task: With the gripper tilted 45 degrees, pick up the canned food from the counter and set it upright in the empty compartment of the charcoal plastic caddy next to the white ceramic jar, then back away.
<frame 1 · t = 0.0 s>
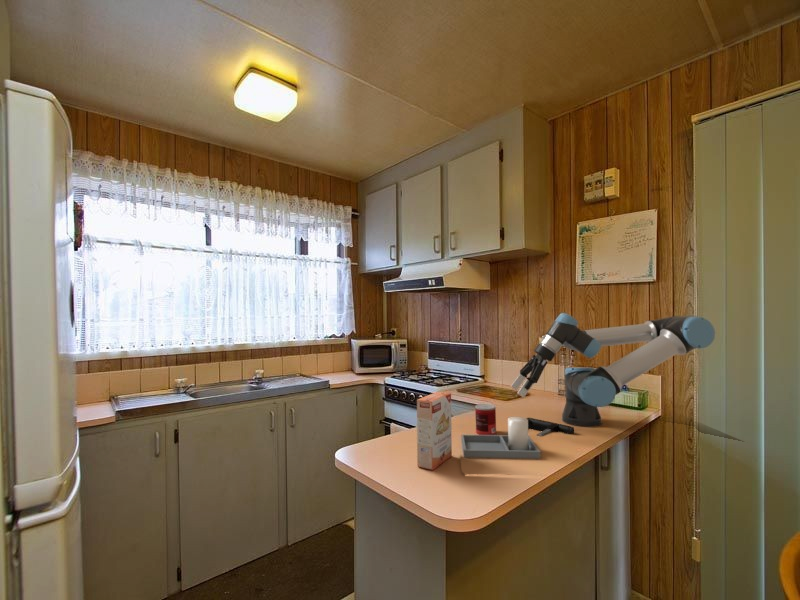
hand: (516, 391, 153), 15 cm above the table, tool tilted 35°, fingers open, 13 cm apart
ceramic jar: (518, 449, 129), resting on caddy
canned food: (486, 435, 148), on the table
cracker box: (435, 462, 122), on the table
caddy: (498, 451, 130), on the table
toy submachine gun: (541, 433, 150), on the table
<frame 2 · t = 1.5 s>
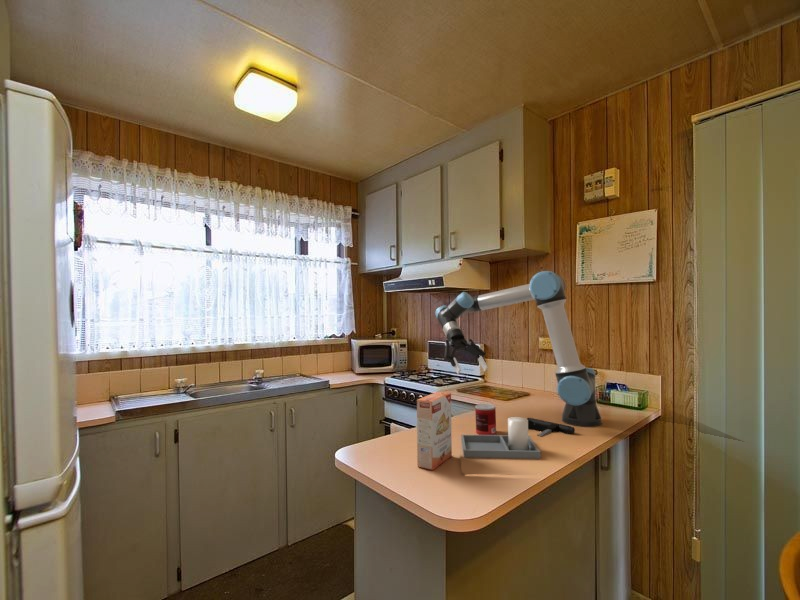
hand: (472, 370, 162), 23 cm above the table, tool tilted 45°, fingers open, 13 cm apart
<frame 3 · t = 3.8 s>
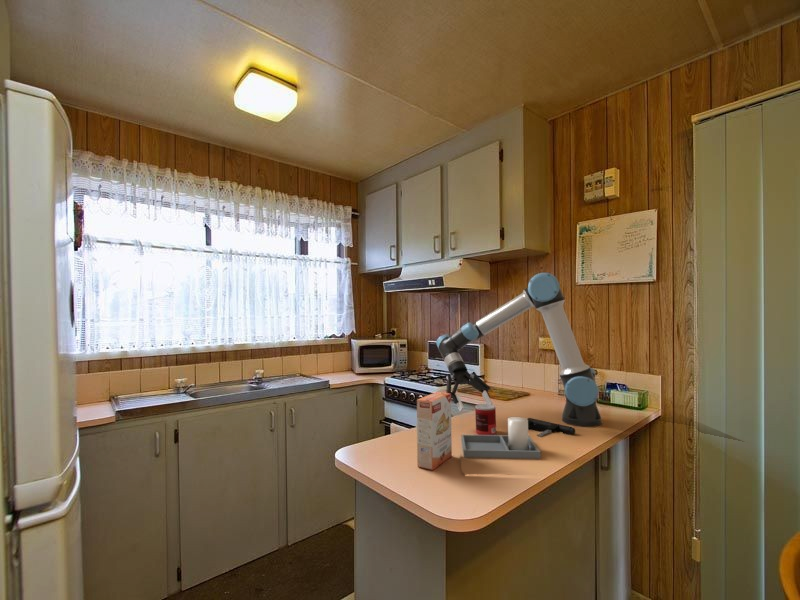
hand: (476, 407, 152), 9 cm above the table, tool tilted 45°, fingers open, 13 cm apart
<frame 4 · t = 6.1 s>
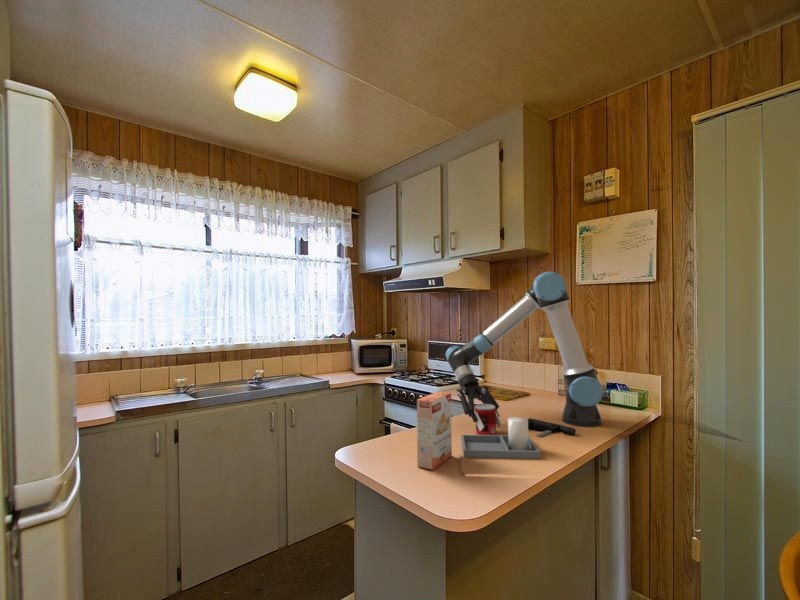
hand: (491, 427, 145), 4 cm above the table, tool tilted 45°, fingers closed on canned food, 8 cm apart
canned food: (486, 435, 148), on the table, touching gripper
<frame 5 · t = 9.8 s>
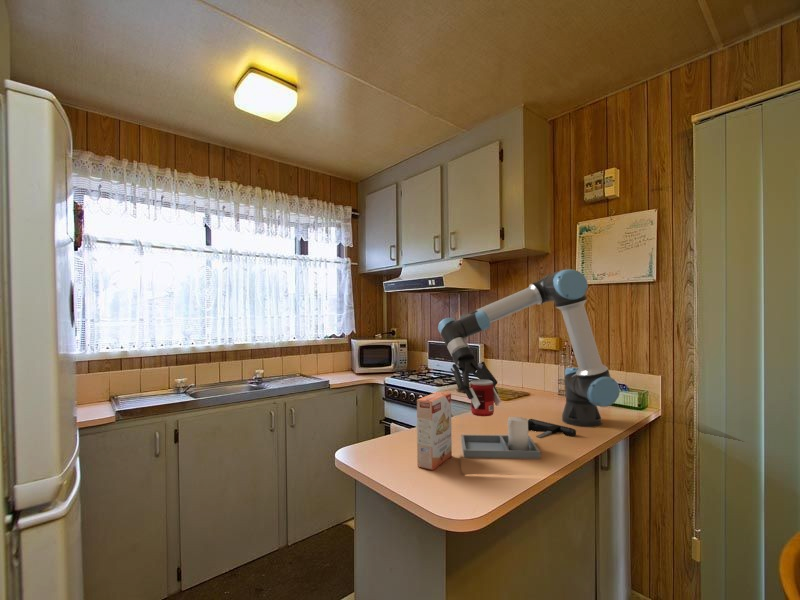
hand: (488, 404, 128), 16 cm above the table, tool tilted 45°, fingers closed on canned food, 8 cm apart
canned food: (482, 414, 131), point 12 cm above the table, touching gripper
when the fingers open (6 cm above the table, at t = 12.6 s): canned food drops 1 cm, resting on caddy.
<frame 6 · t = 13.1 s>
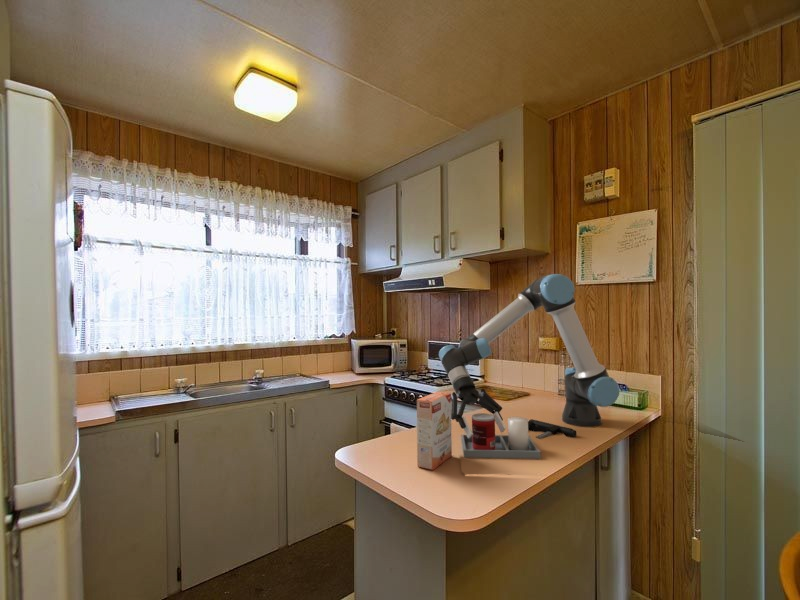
hand: (487, 433, 128), 7 cm above the table, tool tilted 45°, fingers open, 13 cm apart
canned food: (483, 449, 130), point 1 cm above the table, touching caddy
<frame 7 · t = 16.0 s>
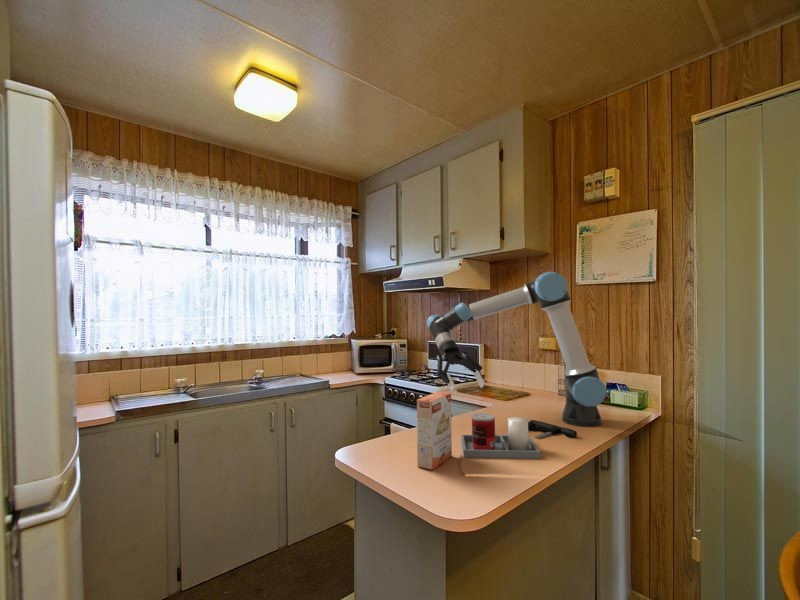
hand: (468, 387, 146), 19 cm above the table, tool tilted 45°, fingers open, 13 cm apart
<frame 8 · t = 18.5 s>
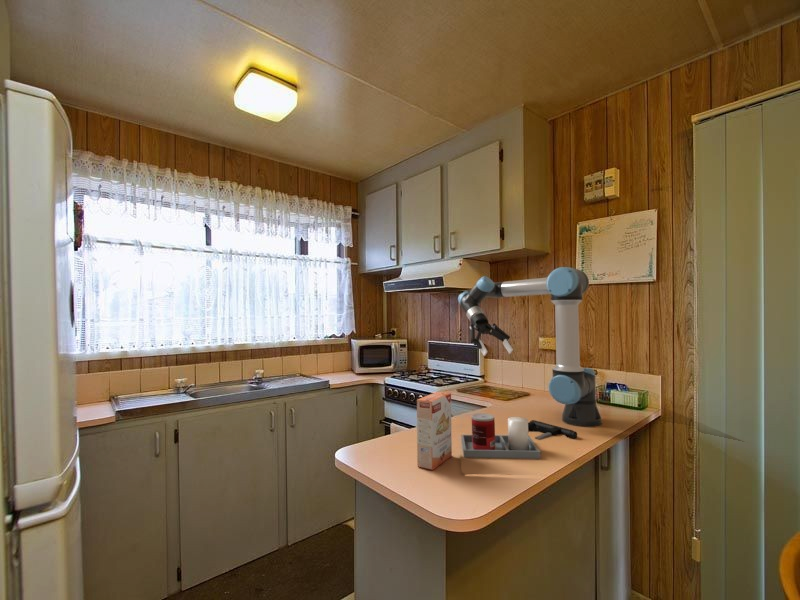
hand: (498, 353, 165), 30 cm above the table, tool tilted 45°, fingers open, 13 cm apart
at the end: canned food 0.1 cm from the target spot on the caddy, point 0.6 cm above the caddy's base; canned food tilted 0°; the gripper is holding nothing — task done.
